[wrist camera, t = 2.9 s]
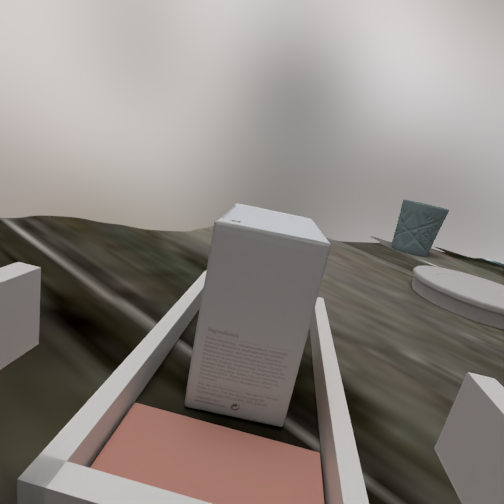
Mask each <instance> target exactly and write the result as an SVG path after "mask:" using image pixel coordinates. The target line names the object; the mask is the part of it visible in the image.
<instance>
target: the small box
mask: <svg viewBox="0 0 504 504" xmlns="http://www.w3.org/2000/svg"><path fill="white" fill-rule="evenodd" d="M330 249H331V244H330V243H329V241H328V240H327V239H326V237H325V236H324V235H323V234H322V232H321V231H320V230H319V228H318V227H317V226H316V224H315V223H314V222H313V220H312V219H309V218H305V217H301V216H296V215H291V214H286V213H282V212H277V211H272V210H268V209H263V208H258V207H253V206H248V205H243V204H238V203H237V204H235V205H234V207H233V208H232V209H231V210H230V211H229V212H228V213H227V214H226V215H224V216H223V217H222V218H220V219H218V220H216V221H215V222H214V229H213V235H212V241H211V247H210V253H209V259H208V265H207V272H206V277H205V282H204V288H203V294H202V299H201V305H200V311H199V317H198V322H197V329H196V334H195V341H194V346H193V353H192V359H191V365H190V371H189V378H188V384H187V390H186V397H185V406H186V407H190V408H194V409H199V410H204V411H208V412H213V413H218V414H222V415H227V416H232V417H236V418H241V419H246V420H250V421H255V422H260V423H264V424H269V425H274V426H278V427H282V426H283V425H284V422H285V418H286V414H287V410H288V407H289V403H290V399H291V396H292V392H293V388H294V384H295V380H296V377H297V373H298V369H299V365H300V362H301V358H302V354H303V350H304V346H305V343H306V339H307V335H308V331H309V327H310V323H311V320H312V316H313V312H314V308H315V305H316V301H317V297H318V293H319V289H320V285H321V282H322V278H323V274H324V270H325V267H326V263H327V259H328V256H329V252H330Z"/></svg>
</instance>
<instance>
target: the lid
mask: <svg viewBox="0 0 504 504" xmlns="http://www.w3.org/2000/svg"><path fill="white" fill-rule="evenodd" d="M413 275H414V278H413V281H412V284H411V285H412V288H413V290H414V291H415V292H417V293H418V294H419V295H420V296H422V297H423V298H425V299H427V300H428V301H430V302H432V303H434V304H435V305H438V306H440V307H442V308H444V309H446V310H448V311H450V312H453V313H455V314H458V315H460V316H463V317H466V318H468V319H471V320H473V321H476V322H479V323H483V324H486V325H489V326H493V327H496V328H499V329H504V285H501V284H498V283H495V282H492V281H489V280H486V279H483V278H480V277H477V276H473V275H470V274H466V273H462V272H458V271H455V270H450V269H445V268H440V267H433V266H417V267H415V268H414V269H413Z"/></svg>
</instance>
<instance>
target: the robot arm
mask: <svg viewBox="0 0 504 504" xmlns="http://www.w3.org/2000/svg"><path fill="white" fill-rule="evenodd" d="M40 280H41V267H37V266H33V265H29V264H25V263H21V262H17V263H14V264H11V265H8V266H5V267H1V268H0V370H1V369H2V368H3V367H5V366H6V365H8V364H9V363H11V362H12V361H14V360H15V359H17V358H18V357H20V356H21V355H23V354H24V353H26V352H27V351H29V350H30V349H32V348H33V347H35V346H36V345H38V344H39V314H40ZM434 449H435V451H436V453H437V455H438V457H439V459H440V461H441V463H442V465H443V467H444V469H445V471H446V473H447V475H448V477H449V479H450V481H451V483H452V485H453V487H454V489H455V491H456V493H457V495H458V497H459V499H460V501H461V503H462V504H504V387H503V386H502V385H501V384H500V383H499V382H498V381H497V380H496V379H494V378H490V377H486V376H482V375H478V374H474V373H470V372H467V374H466V376H465V379H464V381H463V383H462V386H461V388H460V390H459V392H458V395H457V397H456V399H455V402H454V404H453V406H452V408H451V411H450V413H449V415H448V418H447V420H446V422H445V425H444V427H443V429H442V431H441V434H440V436H439V438H438V441H437V443H436V445H435V447H434Z"/></svg>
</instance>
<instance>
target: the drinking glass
mask: <svg viewBox="0 0 504 504" xmlns="http://www.w3.org/2000/svg"><path fill="white" fill-rule="evenodd" d="M448 211H449V210H447V209H444V208H440V207H436V206H432V205H427V204H423V203H418V202H413V201H409V200H403V204H402V208H401V213H400V216H399V220H398V224H397V228H396V230H395V231H396V232H395V235H394V239H393V241H392V245H391V247H393V248H394V249H397V250H399V251H402V252H405V253H409V254H412V255H417V256H427V255H428V253H429V250H430V248H431V246H432V244H433V242H434V240H435V238H436V236H437V233H438V231H439V229H440V227H441V226H442V223H443V221H444V220H445V217H446V215H447V214H448Z"/></svg>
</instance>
